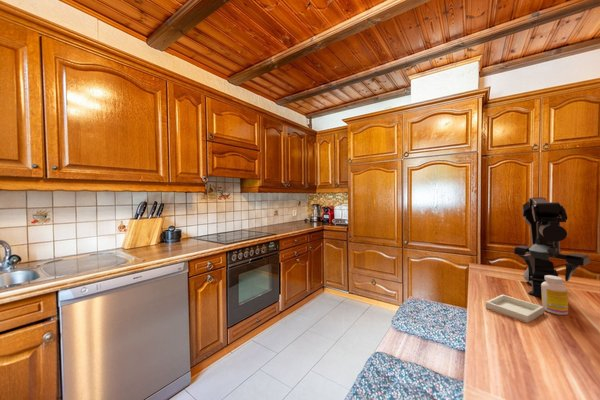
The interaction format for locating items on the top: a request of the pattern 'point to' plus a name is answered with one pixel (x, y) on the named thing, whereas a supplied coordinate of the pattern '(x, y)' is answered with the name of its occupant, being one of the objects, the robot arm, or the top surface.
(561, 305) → the supplement bottle
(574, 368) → the top surface
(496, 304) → the tray
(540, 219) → the robot arm
